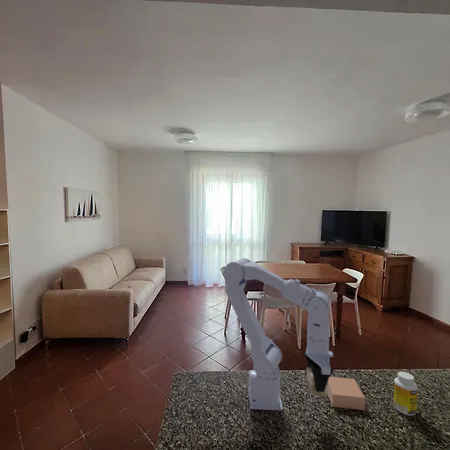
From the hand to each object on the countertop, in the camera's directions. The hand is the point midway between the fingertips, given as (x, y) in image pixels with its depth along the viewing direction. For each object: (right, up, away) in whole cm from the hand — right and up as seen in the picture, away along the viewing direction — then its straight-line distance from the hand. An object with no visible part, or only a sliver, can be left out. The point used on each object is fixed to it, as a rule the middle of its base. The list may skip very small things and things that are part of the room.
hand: (317, 384), depth 72 cm
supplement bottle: (+27, -10, +4) cm, 29 cm away
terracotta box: (+11, -10, +9) cm, 17 cm away
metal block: (0, -1, 0) cm, 1 cm away
